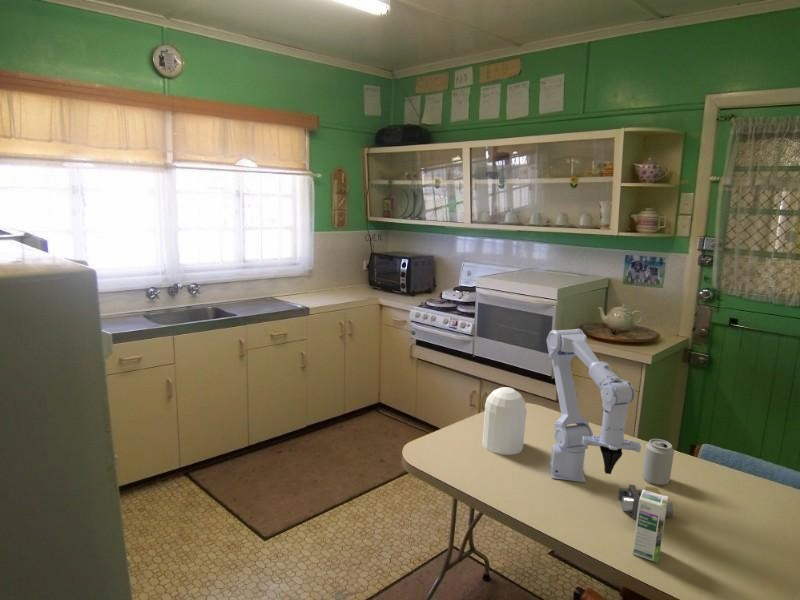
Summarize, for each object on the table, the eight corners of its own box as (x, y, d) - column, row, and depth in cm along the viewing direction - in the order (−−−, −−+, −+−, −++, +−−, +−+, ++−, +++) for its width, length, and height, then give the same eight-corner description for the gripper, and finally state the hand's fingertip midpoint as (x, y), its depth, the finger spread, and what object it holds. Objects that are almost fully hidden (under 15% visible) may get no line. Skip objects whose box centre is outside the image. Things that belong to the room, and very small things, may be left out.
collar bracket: (625, 517, 142) (628, 498, 141) (617, 497, 152) (620, 478, 151) (666, 523, 140) (669, 503, 139) (655, 502, 150) (658, 483, 149)
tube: (623, 513, 144) (625, 501, 143) (620, 505, 147) (622, 493, 147) (672, 520, 142) (674, 507, 141) (667, 511, 145) (669, 499, 144)
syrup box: (631, 554, 128) (638, 499, 125) (635, 541, 133) (642, 487, 130) (657, 563, 125) (666, 507, 122) (660, 549, 130) (668, 495, 127)
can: (672, 488, 157) (678, 450, 155) (644, 484, 159) (650, 447, 156) (665, 475, 164) (670, 438, 162) (639, 472, 166) (644, 435, 163)
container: (474, 445, 179) (478, 388, 175) (494, 432, 190) (498, 378, 185) (511, 459, 171) (516, 400, 167) (529, 444, 182) (535, 388, 177)
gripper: (586, 428, 141) (581, 475, 144) (646, 435, 138) (639, 483, 141) (583, 417, 148) (578, 462, 151) (639, 423, 145) (633, 469, 148)
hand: (607, 472), depth 147 cm, fingers closed
